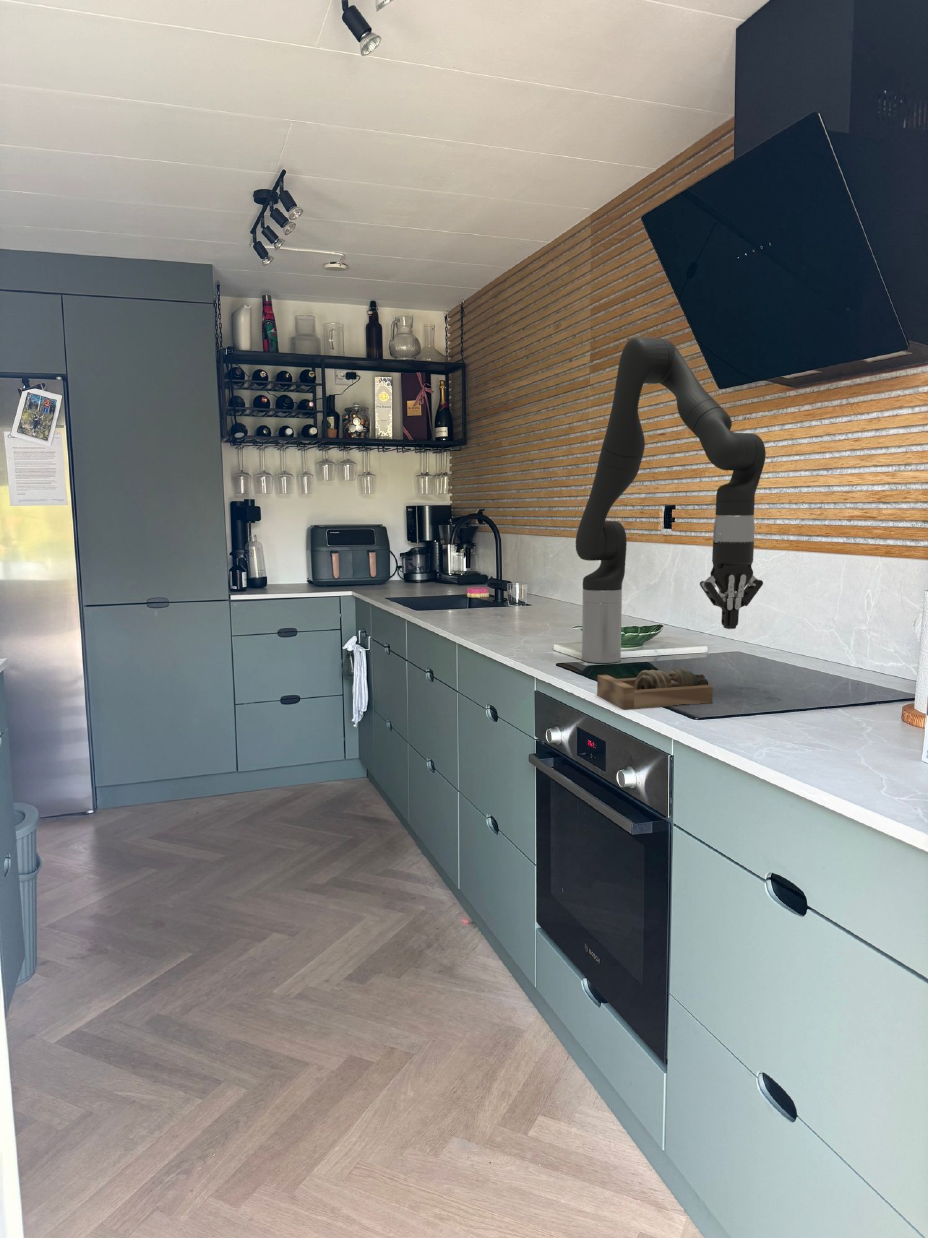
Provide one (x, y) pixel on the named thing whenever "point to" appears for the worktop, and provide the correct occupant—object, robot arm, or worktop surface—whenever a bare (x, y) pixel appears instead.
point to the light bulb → (668, 679)
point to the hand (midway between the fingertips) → (729, 628)
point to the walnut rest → (649, 694)
